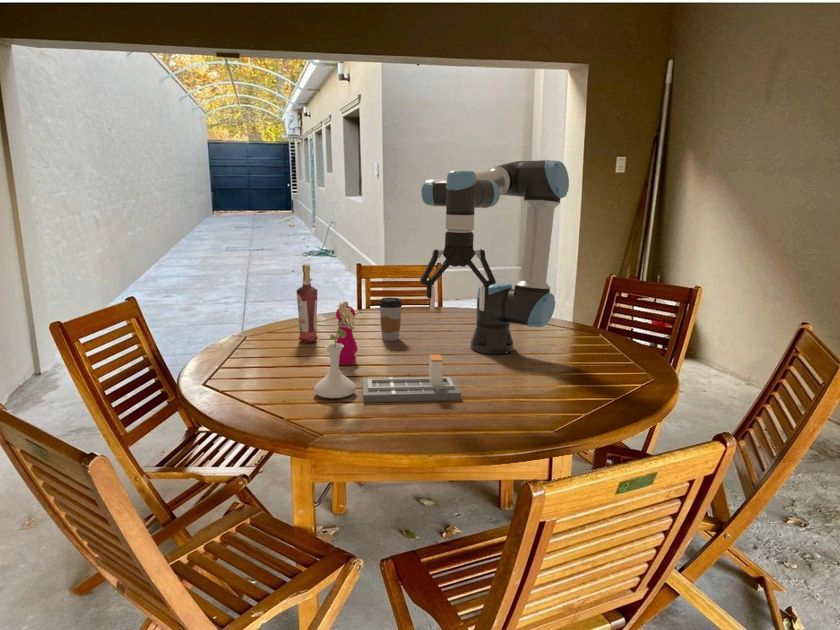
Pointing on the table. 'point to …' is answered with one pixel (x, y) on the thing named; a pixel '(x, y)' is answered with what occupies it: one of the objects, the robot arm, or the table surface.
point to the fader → (435, 369)
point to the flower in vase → (337, 363)
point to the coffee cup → (390, 318)
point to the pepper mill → (346, 341)
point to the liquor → (307, 308)
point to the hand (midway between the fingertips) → (456, 310)
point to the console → (409, 389)
